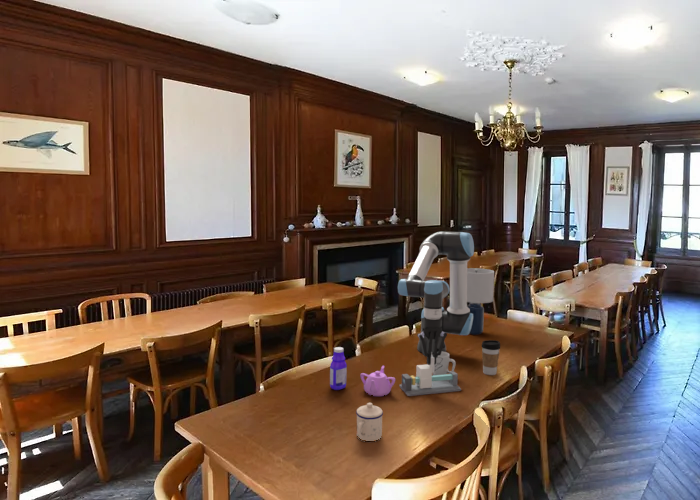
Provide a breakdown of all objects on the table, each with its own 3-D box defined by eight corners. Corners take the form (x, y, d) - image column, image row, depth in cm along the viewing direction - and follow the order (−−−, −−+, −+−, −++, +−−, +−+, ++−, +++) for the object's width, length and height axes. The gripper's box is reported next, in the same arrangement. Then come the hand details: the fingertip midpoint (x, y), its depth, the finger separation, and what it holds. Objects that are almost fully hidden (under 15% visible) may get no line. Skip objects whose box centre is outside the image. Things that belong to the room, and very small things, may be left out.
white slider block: (415, 384, 205) (416, 365, 204) (426, 383, 206) (427, 364, 205) (420, 388, 200) (421, 369, 199) (431, 387, 202) (432, 368, 201)
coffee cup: (500, 376, 218) (501, 345, 217) (481, 375, 220) (482, 343, 219) (498, 370, 227) (499, 339, 225) (479, 369, 228) (481, 338, 227)
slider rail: (399, 386, 206) (399, 372, 205) (450, 381, 212) (450, 367, 211) (407, 396, 196) (408, 380, 196) (461, 390, 202) (461, 376, 202)
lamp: (495, 337, 279) (498, 272, 275) (460, 337, 280) (463, 271, 275) (486, 328, 299) (488, 267, 295) (453, 328, 300) (455, 266, 295)
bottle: (339, 383, 209) (340, 345, 207) (348, 387, 205) (349, 348, 203) (327, 388, 204) (327, 348, 202) (336, 392, 200) (336, 351, 198)
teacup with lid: (364, 427, 170) (364, 395, 168) (387, 434, 165) (387, 401, 164) (346, 441, 159) (346, 408, 158) (370, 449, 155) (370, 415, 153)
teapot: (383, 384, 209) (383, 364, 208) (397, 396, 196) (398, 375, 195) (358, 387, 205) (358, 367, 204) (371, 400, 192) (371, 379, 191)
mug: (457, 374, 221) (457, 353, 220) (452, 380, 213) (453, 359, 212) (432, 370, 226) (433, 350, 225) (428, 376, 218) (428, 355, 217)
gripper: (421, 320, 196) (420, 376, 198) (450, 318, 199) (449, 373, 201) (414, 316, 203) (413, 369, 205) (443, 314, 206) (441, 367, 209)
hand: (431, 371), depth 203 cm, fingers closed
